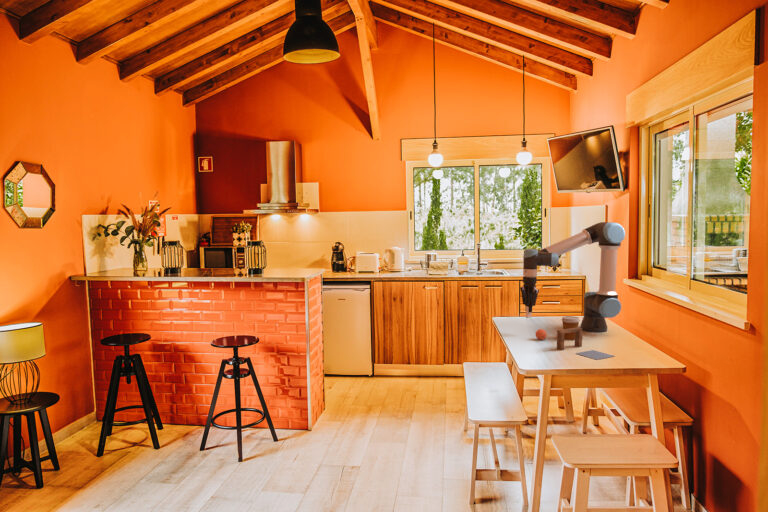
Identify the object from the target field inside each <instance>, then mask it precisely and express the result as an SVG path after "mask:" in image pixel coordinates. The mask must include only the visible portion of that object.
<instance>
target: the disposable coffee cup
mask: <svg viewBox="0 0 768 512" xmlns="http://www.w3.org/2000/svg"><path fill="white" fill-rule="evenodd" d="M561 321H562V330H563V329H570V328H577V327H578V328H579V323H580V321H581V320H580V318H579V317H578V316H572V315H569V316H568V315H565V316H562V318H561ZM564 340H567V341H575V332H571V333H564Z"/></svg>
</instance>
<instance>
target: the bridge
mask: <svg viewBox="0 0 768 512" xmlns="http://www.w3.org/2000/svg"><path fill="white" fill-rule="evenodd" d="M571 332H575V340H574V347H577V346H578V347H577V348H582V347H583V330H582V328H580V327H579V326H578V327H577V328H570V329H563V328H562V329H557V330H556V350H559V351H563V350H565V339H564V333H571Z"/></svg>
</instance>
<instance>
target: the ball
mask: <svg viewBox="0 0 768 512" xmlns="http://www.w3.org/2000/svg"><path fill="white" fill-rule="evenodd" d="M547 336H548V333H547V332H546V330H545V329H544V328H539V329H537V330H536V332H535V337H536V338H537V340H540V341H544V340H545V339H546V338H547Z"/></svg>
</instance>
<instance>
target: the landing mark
mask: <svg viewBox="0 0 768 512" xmlns="http://www.w3.org/2000/svg"><path fill="white" fill-rule="evenodd" d="M575 353H576V354H575V355H578V354H579V355H578V356H581V355H582V357H585V358H588V357H589V359H592V360H596V361H598V359H599V360H604V358H605V359H609V358H608V357H610V358H615V357H614V356H615V355H613V354H609V353H605V352H602V351H598V350H594V349H592V350H591V349H590V350H586V351H580V352H575Z"/></svg>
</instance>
